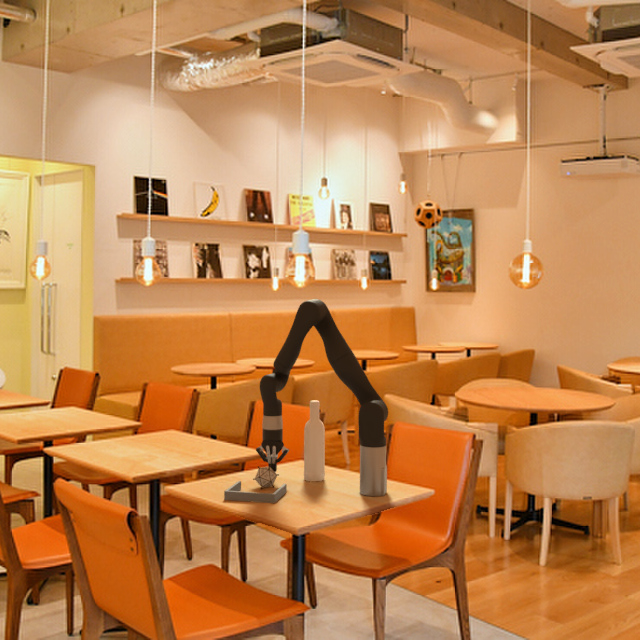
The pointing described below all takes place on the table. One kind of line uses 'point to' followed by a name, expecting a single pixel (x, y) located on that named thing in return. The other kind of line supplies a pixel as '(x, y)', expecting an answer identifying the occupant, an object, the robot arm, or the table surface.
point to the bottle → (314, 445)
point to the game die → (265, 477)
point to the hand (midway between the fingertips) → (272, 473)
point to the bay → (253, 494)
